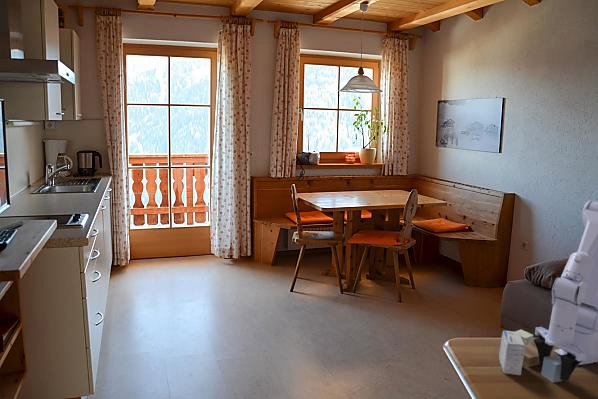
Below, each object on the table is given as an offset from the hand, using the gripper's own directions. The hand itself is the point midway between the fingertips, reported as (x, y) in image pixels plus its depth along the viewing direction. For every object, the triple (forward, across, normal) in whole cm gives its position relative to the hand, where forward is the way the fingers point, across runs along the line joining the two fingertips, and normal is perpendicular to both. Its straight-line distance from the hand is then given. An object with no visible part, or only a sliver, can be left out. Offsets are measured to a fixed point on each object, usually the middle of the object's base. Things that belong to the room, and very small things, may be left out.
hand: (553, 372), depth 136 cm
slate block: (+2, 0, 0) cm, 2 cm away
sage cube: (+2, -16, +4) cm, 17 cm away
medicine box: (+2, -7, -8) cm, 11 cm away
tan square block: (+2, -9, 0) cm, 9 cm away
